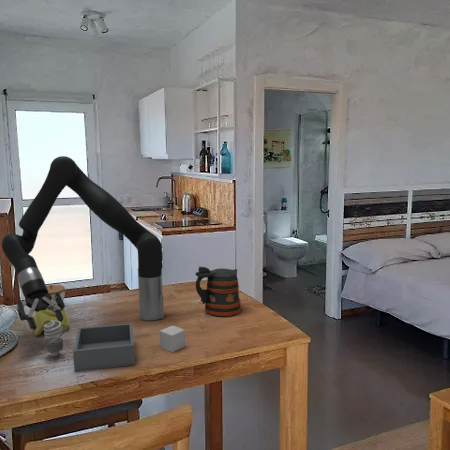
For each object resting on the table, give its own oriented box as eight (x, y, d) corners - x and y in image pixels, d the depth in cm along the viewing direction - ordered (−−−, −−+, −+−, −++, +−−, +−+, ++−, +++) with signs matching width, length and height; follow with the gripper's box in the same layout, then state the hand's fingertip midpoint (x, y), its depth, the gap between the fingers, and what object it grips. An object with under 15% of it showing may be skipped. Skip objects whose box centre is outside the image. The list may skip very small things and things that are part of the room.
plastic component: (70, 325, 167) (43, 319, 162) (61, 343, 167) (34, 337, 162) (63, 304, 184) (38, 298, 179) (55, 321, 184) (31, 315, 179)
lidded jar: (42, 312, 186) (41, 290, 184) (36, 305, 194) (34, 284, 192) (69, 307, 192) (67, 285, 190) (61, 300, 200) (60, 279, 199)
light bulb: (48, 352, 150) (46, 318, 148) (66, 351, 151) (63, 317, 148) (43, 360, 145) (40, 324, 142) (61, 359, 145) (59, 324, 143)
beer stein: (206, 322, 175) (205, 272, 171) (189, 310, 187) (188, 263, 184) (247, 313, 185) (247, 265, 181) (228, 302, 197) (228, 257, 193)
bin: (132, 340, 159) (132, 323, 158) (134, 364, 142) (134, 345, 141) (79, 346, 155) (77, 328, 154) (74, 371, 138) (73, 351, 137)
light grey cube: (160, 347, 154) (159, 330, 153) (173, 341, 158) (172, 325, 157) (172, 352, 150) (171, 335, 149) (185, 346, 155) (184, 329, 154)
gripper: (12, 282, 148) (28, 326, 141) (55, 273, 157) (72, 314, 151) (8, 294, 152) (23, 336, 146) (50, 285, 162) (66, 324, 156)
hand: (48, 325), depth 148 cm, fingers open, 8 cm apart
